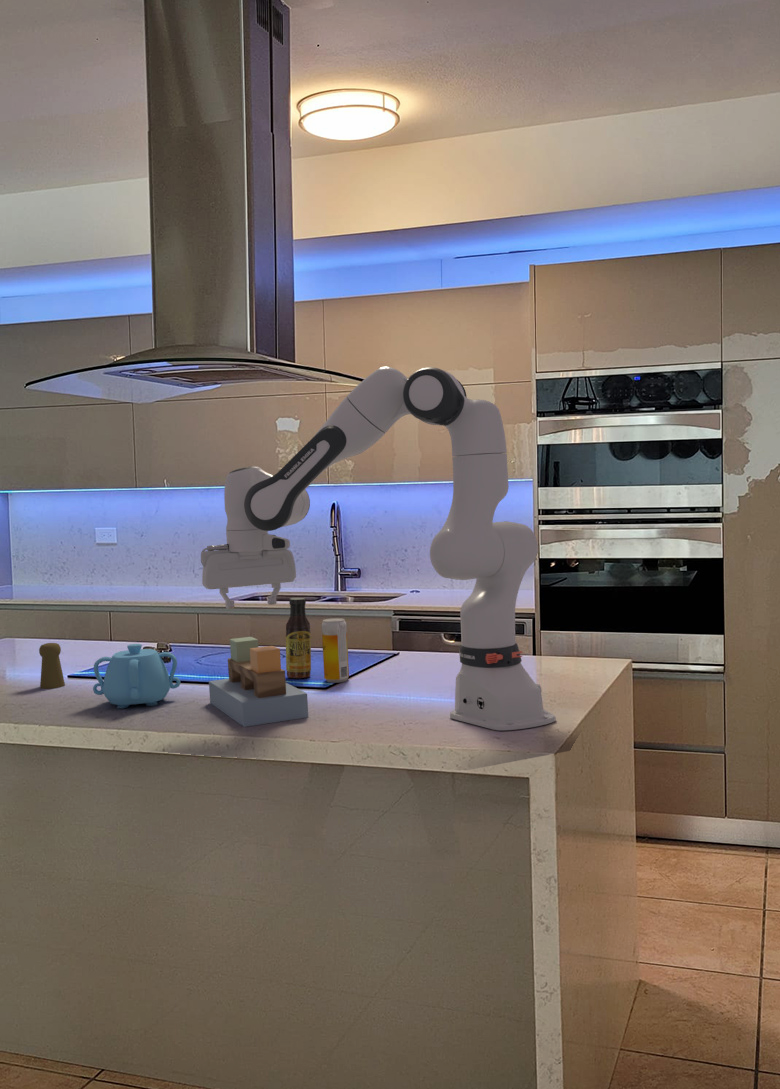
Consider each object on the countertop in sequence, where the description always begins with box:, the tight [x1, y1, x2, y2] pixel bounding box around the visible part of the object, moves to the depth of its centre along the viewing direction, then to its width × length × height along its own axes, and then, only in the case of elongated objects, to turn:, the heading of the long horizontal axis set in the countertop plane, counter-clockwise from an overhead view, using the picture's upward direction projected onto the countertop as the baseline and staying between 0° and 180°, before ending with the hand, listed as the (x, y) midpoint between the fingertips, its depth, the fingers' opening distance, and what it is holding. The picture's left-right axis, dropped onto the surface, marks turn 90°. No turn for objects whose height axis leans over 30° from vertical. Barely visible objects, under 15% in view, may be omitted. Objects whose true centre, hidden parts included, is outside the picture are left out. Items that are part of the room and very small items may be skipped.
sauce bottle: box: [285, 597, 312, 679], centre depth 254 cm, size 6×6×20 cm
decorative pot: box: [92, 643, 181, 709], centre depth 234 cm, size 16×16×14 cm
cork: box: [38, 642, 66, 690], centre depth 257 cm, size 6×6×11 cm
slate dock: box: [208, 678, 309, 728], centre depth 221 cm, size 26×14×5 cm, turn 25°
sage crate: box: [229, 636, 259, 662], centre depth 227 cm, size 5×5×4 cm
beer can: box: [321, 617, 350, 684], centre depth 248 cm, size 6×6×15 cm
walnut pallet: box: [227, 657, 287, 698], centre depth 221 cm, size 22×6×5 cm, turn 25°
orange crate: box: [250, 645, 282, 673], centre depth 214 cm, size 5×5×4 cm
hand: (251, 606), depth 219 cm, fingers open, 8 cm apart
